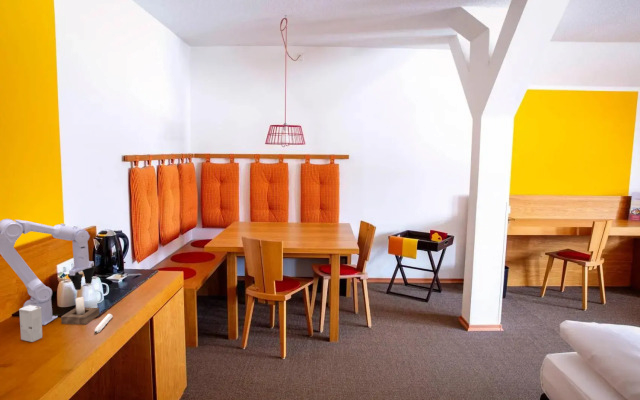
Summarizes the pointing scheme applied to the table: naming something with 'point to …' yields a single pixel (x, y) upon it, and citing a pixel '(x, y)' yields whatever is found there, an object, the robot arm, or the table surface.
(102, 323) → the marker
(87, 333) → the table surface
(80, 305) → the peg
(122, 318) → the table surface
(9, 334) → the table surface
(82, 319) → the brown square frame
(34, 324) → the skincare box
